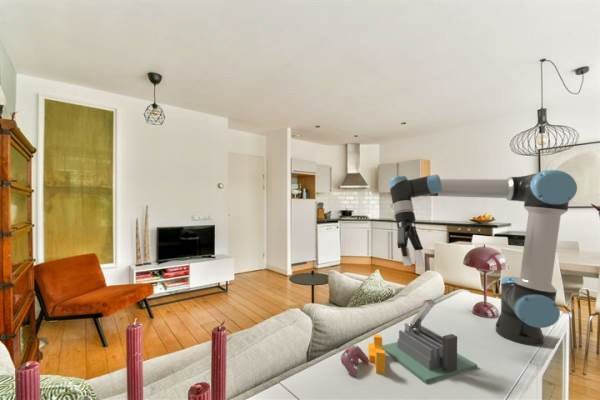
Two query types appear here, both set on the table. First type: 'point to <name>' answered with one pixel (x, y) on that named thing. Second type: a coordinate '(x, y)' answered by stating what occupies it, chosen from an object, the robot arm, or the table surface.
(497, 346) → the table surface
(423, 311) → the retention strap
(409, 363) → the heat sink board
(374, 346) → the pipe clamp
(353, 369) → the video game controller
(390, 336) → the table surface
